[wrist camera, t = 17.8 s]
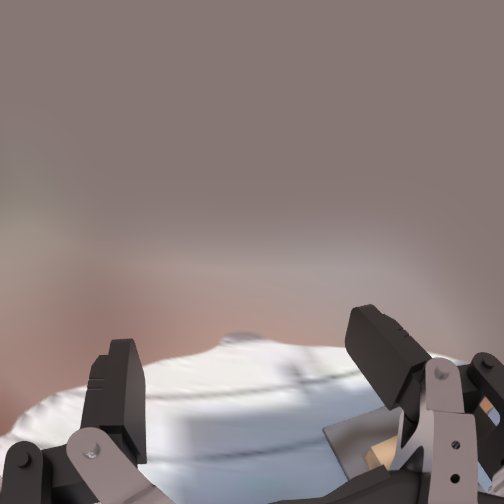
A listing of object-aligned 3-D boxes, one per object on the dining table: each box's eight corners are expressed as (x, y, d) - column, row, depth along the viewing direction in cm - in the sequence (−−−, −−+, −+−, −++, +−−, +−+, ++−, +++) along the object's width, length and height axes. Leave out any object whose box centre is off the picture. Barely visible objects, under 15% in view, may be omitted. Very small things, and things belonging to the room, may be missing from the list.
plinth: (487, 500, 18) (504, 488, 16) (394, 566, 15) (409, 561, 13) (410, 396, 39) (418, 380, 38) (322, 430, 36) (327, 414, 34)
